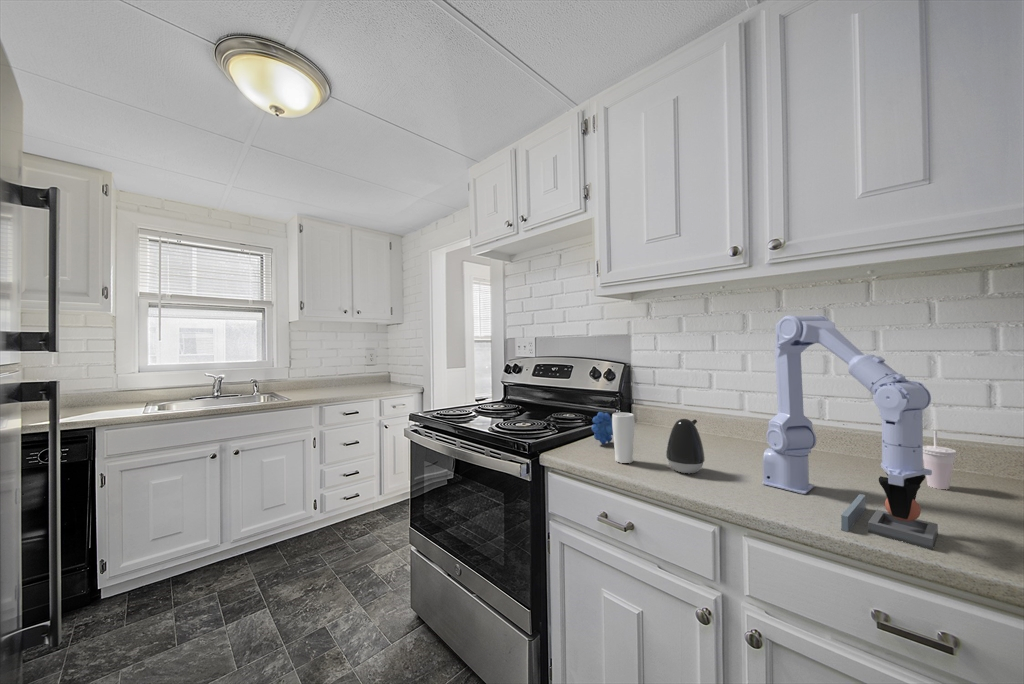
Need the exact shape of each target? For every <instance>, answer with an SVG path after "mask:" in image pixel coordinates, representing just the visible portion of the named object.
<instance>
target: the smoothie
mask: <svg viewBox="0 0 1024 684" xmlns="http://www.w3.org/2000/svg"><path fill="white" fill-rule="evenodd" d="M956 456H958V454H957V450H955V449H953V448H950V447H949V448H948V447H945V446H938V431H937V430H933V445H923V468H924V469H929V470H932V475H925V479H926V483H927V487H929V486H930V487H929V488H932V487H933V488H932V489H935V488H937V489H936V490H941V489H946V490H945V491H947V489H949V490H950V485H951V479H952V473H953V470H954V469H953V468H954V463H955V457H956Z"/></svg>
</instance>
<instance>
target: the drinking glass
mask: <svg viewBox="0 0 1024 684" xmlns="http://www.w3.org/2000/svg"><path fill="white" fill-rule="evenodd" d="M611 419H612V430H613V435H612V440H613V446H614V460H615V462H616V461H617V462H616V463H618V462H620V463H619V464H622V463H629V464H632V463H633V460H634V459H633V458H634V457H633V454H634V438H635V414H633V413H630V412H622V411H620V412H619V411H618V412H613V413H612V415H611Z"/></svg>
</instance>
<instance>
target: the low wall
mask: <svg viewBox="0 0 1024 684" xmlns="http://www.w3.org/2000/svg"><path fill="white" fill-rule="evenodd" d="M866 502H867V501H866V494H861V493H859V494H858V496H857V497H856V498H855V499H854V500H853V501H852V502H851V503H850V504H849V506H848V507H847V508H846V509H845V510H844V511H843V513H842V514H841V515H840V516H841V520H840V522H841V526H840V527H841V531H844V532H847V533H848V532H849V531H850V530H851V529H852V527H853V526H854V524H855V523H856V522H857V521H858V519H859V518H860V517H861V515H862V514H863V513H864V512H865V510H866V509H867V508H866V506H867V505H866ZM863 511H864V512H863Z"/></svg>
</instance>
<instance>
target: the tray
mask: <svg viewBox="0 0 1024 684" xmlns="http://www.w3.org/2000/svg"><path fill="white" fill-rule="evenodd" d="M938 526H939V525H938V523H935V522H931V521H927V520H923V519H918V518H917V519H916V520H913V521H901V520H898V519H896V518H894V517H893V516H892V515H890V514H889V513H888V511H887V510H885V511H884V510H881V509H876V510H875V512H874V513H873V514H872V516H871V518H870V519H869V520H868V522H867V533H868V534H873V535H876V536H879V537H884V538H887V539H891V540H894V539H895V540H894V541H897V540H898V542H901V541H903V542H902V543H905V542H906V543H905V544H908V543H909V544H908V545H913V546H915V545H917V546H916V547H919V546H920V547H919V548H924V549H926V548H927V550H931V551H933V550H934V548H933V547H935V545H934V544H936V541H937V537H938V534H939V532H938V531H939V527H938Z"/></svg>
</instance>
